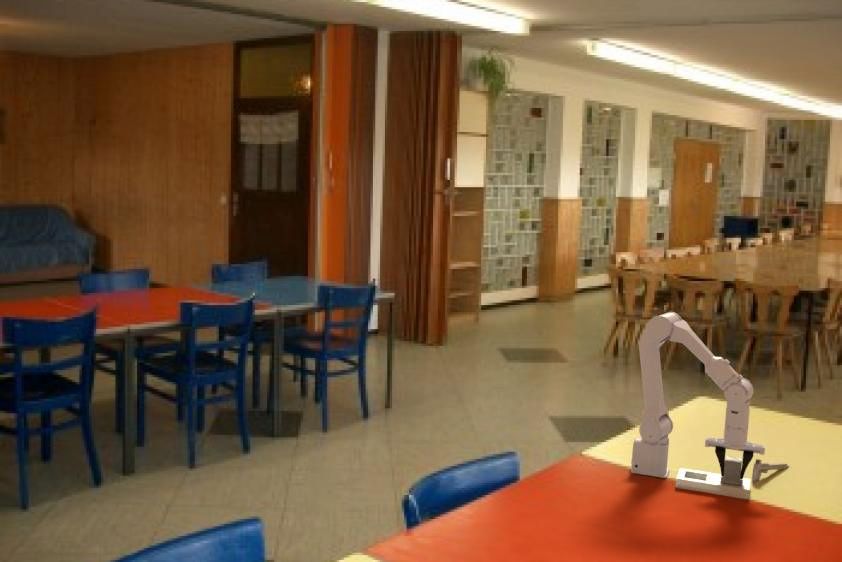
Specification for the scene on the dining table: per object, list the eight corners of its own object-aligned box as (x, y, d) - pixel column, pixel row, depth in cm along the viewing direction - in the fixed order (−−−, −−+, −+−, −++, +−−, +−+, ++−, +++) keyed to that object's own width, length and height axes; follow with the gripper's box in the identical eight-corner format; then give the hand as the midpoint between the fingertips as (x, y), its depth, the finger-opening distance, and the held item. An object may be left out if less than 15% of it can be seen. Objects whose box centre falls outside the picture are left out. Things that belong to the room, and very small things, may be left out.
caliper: (755, 483, 237) (757, 461, 236) (751, 482, 237) (753, 460, 237) (789, 467, 250) (791, 446, 250) (785, 466, 251) (787, 445, 250)
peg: (722, 490, 228) (724, 460, 227) (723, 484, 232) (725, 455, 231) (738, 492, 227) (741, 462, 226) (739, 487, 230) (742, 458, 229)
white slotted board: (675, 487, 231) (676, 478, 230) (679, 476, 239) (679, 467, 239) (748, 499, 224) (749, 490, 224) (749, 487, 232) (750, 478, 232)
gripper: (705, 426, 226) (701, 477, 228) (766, 434, 221) (761, 486, 223) (707, 419, 233) (703, 468, 235) (766, 427, 228) (762, 477, 229)
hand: (732, 476), depth 229 cm, fingers closed on peg, 4 cm apart
